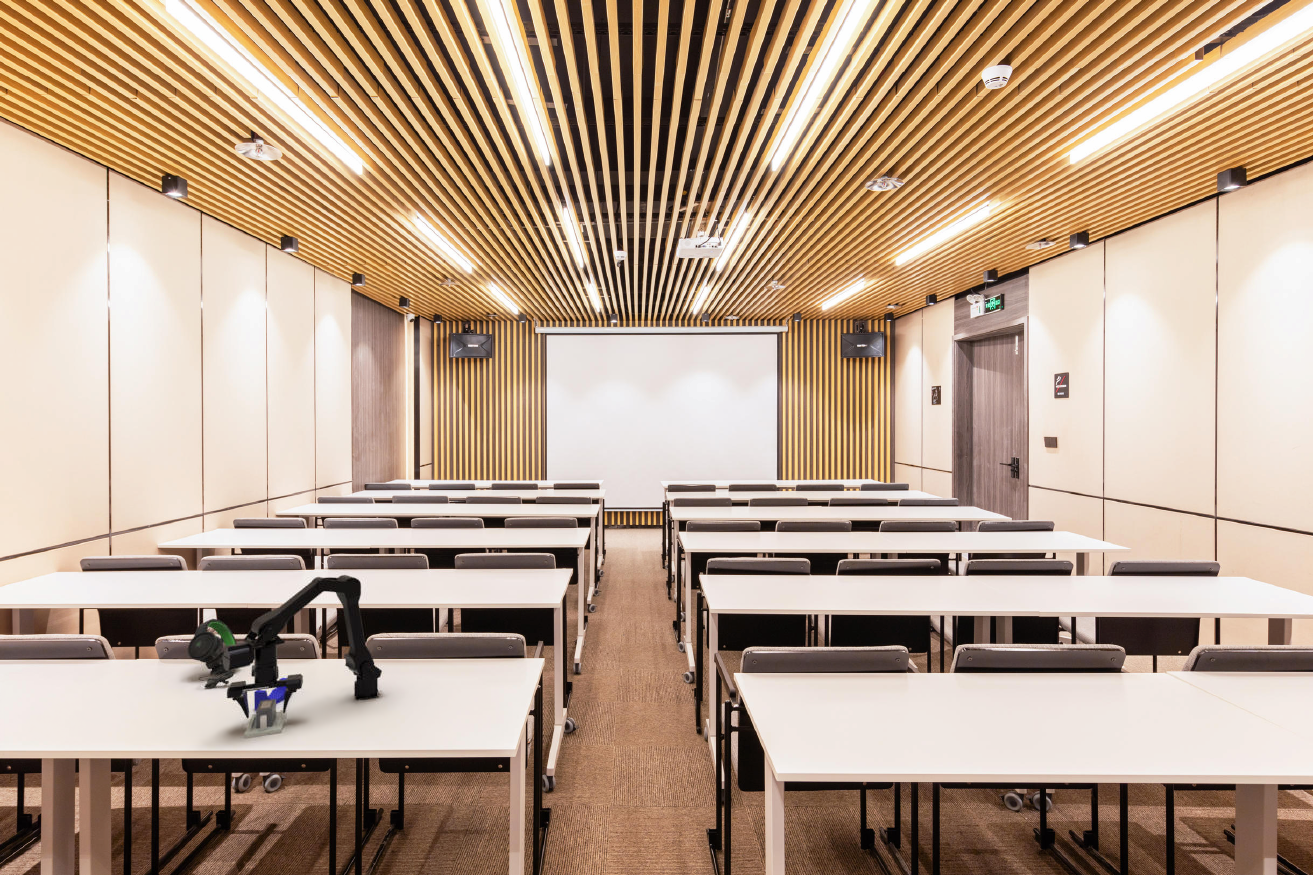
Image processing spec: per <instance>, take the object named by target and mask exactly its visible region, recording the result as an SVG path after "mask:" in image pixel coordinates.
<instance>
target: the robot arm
mask: <svg viewBox="0 0 1313 875" xmlns="http://www.w3.org/2000/svg"><path fill="white" fill-rule="evenodd" d="M324 592H328V593H329V592H330V593H335V594H336V596H337V599H338V600H339V602H340V603H341V605H342V610H343V615H344V621H345V627H346V632H347V638H348V644H349V648H348V652H347V653H344V654H343V657H344V659H345V665H344V666H345V667H347V668H348V670H349V671H351V672H352V673H353V675H354V676H356V680H355V681H354V684H353V686H354V697H355V700H357V701H359V700H366V699H375V698H378V697H379V689H378V686H379V684H378V681H379V680H378V679H379V678H381V676H382V672H383V670H381V669H380V668H379V667H377V665H375V661H374V659H373V658H374V657H373V656H372V653H371V652H370V650H369V648H368V647H367V645H366V640H365V634H364V628H363V622H362V616H361V610H360V605H359V604H360V603H359V602H360V599H361V596H362V583H361V581H360V580H359V578H357V577H354V576H350V575H348V574H344V575H343V574H341V575H339V576H338V577H330V576H329V577H320V576H317V577H314V578H313V579H312V580H311V582H309V583H308V584H307V585H305V586H304V587H303V588H302V589H301V590H299V591H298V592H296V593H295V594H294V595H293V596H291V597H290V598H289V599H288V600H286V601H285V602H284V603H283V604H281V605H280V606H278V607H277V608H276V609H272V610H270V611H268V612H266V613H264V614H262V615H260V616H259V617H258V618H256V619H255V620H254V621H253V622H252V623H251V629H250V630H249V632H248V633H247V634H246V636H245V637H244V638H243V641H242V643H241V642H240V643H237V644H235V645H227V646H226V645H225V650H223V651H224V656H223V665H224V668H225V670H226V671H228V672H229V670H230V671H234V670H238V669H241V668H246V667H250V666H251V673H250V675H251V677H252V678H253V677H254V683H247V681H246V680H241V681H240V680H239V681H233V682H231V683H230V684H229V686H228V687H227V690H226V699H232V701H233V702H234V701H236V702H237V703H238V705H239V706H240V707H241V709H242V711H243V713H244V715H245V717H246V719H249V718H250V708H249V701H248V692H253V691H254V692H255V691H257V690H266V689H267V690H269V689H275V688H277V687H284V686H286V691H285V697H284V700H283V707H282V710H283V713H285V711H286V712H287V710H286V709H287V707H288V704H289V701H290V699H291V697H292V695H293V694H294V693H297V691H298V690H301V689H302V688H303V684H304V683H303V682H304V678H303V677H304V675H302V674H301V673H298V674H288V675H287V677H286V678H287V679H286V680H278V679H280V678H279V671H280V670H279V666H278V645H283V644H285V643H286V641H285V640H283V639H282V638H281V637H280V636H279V634H280V633H281V632H282V631H283V630H284V629H285V627H286V625H287V623H288V622H290V620H291V619H292V618H293V617H294V616H296V615H297V613H299V612H300V611H301V610H303V609H304V608H306V607H307V606H308V605H309V604H310V603H311V602H312V601H314V600H315V599H317V597H319V596H320V595H321V594H322V593H324ZM252 664H253V665H252Z"/></svg>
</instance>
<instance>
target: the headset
mask: <svg viewBox="0 0 1313 875" xmlns="http://www.w3.org/2000/svg"><path fill="white" fill-rule="evenodd" d="M208 628H211V629H213V630H214V631H215V632H216V633H217V634H218V635H219V636H218V635H216V634H215V633H213V632H211V631H208ZM193 635H194V636H193V637H192V639H190V641H189V644H188V647H187V653H188V656H189V657H190V658H191V659H193V660H195V661H199V662H201V663H205V666H206V668H207V669H208V670H210V672H209V674H208V675H204V676H200V677H198V680H199V681H206V683H205V685H204V688H208V689H212V688H215V687H216V686H217V685H218V684H220V683H223V685H225V686H227V685H228V684H229V682H230V681H229V679H231V678H233V676H234V675H235V671H234V670H229V671H226V670H225V668H224V665H223V656H224V651H225V650H223V649H224V646H225V647H226V646H227V645H235V644H238V643H237V640H236V638H235V635H234V633H233V632H232V630H231V629H230V628H229V626H228V625H226V624H225V623H224V621H221V620H219V619H217V618H212V619H209V620H206V621H204V622H202V623H201V624H199V625H198V626H197V628H196V630H195V632H194V634H193ZM214 675H220V676H219V677H217V678H216V677H215V678H214V677H211V676H214ZM207 677H211V678H207ZM201 678H206V679H201Z"/></svg>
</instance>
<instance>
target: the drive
mask: <svg viewBox="0 0 1313 875" xmlns="http://www.w3.org/2000/svg"><path fill="white" fill-rule="evenodd" d="M276 712H277V704H276V699H271V700H263V701H260V703H259V706H258V708H257V710H256V711H255V714H256V729H258V728H260V716H262V715H267V727H272V726H273V723H274V720H275V717H276Z"/></svg>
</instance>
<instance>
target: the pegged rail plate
mask: <svg viewBox="0 0 1313 875" xmlns="http://www.w3.org/2000/svg"><path fill="white" fill-rule="evenodd" d="M286 717H287V710H286V711H285V713H283V709H281V710H279V711H276V717H275V720H274V723H273V726H272V727H267V715H262V716H260V728H258V729H256V713H252V715H251V717H250V720H249V722H248V725H247V727H246V729H245V732H244V736H243V737H244V739H247V738H254V737H255V738H256V737H260V736H261V737H262V736H267V735H275V734H281V733H282V730H283V727H284V723H285V719H286Z"/></svg>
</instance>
